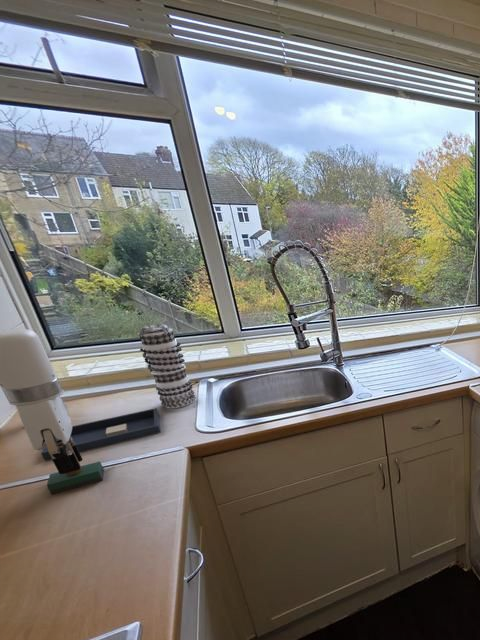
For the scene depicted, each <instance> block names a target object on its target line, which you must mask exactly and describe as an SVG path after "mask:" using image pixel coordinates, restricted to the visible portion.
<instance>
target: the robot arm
mask: <svg viewBox="0 0 480 640" xmlns="http://www.w3.org/2000/svg"><path fill="white" fill-rule="evenodd" d="M0 388H1V391H2V392H3V394H4V396H5V398H6V399H7V402H8V403H9V405H11V406H16V408H17V409H16V410H17V412H18V416H19V418H20V422H21V423H22V426H23V428H24V430H25V434H26V435H27V437H28V439H29V442H30V444H31V446H32V448H33V450H36V451H40V450H42V449H43V447H44V445H46V447H47V449H48V452H49V454H50V456H51V458H52V459H51V460H52V462H53V464H54V466H55V468H56V470H57V472H59V474H65V473H69V472H72V471H76V470H79V469H80V465H81V464H80V465H79V463H80V462H82V461H83V457H82V455H81V452H79V450H78V448H77V446H76V445H74V441H73V439H72V437H71V432H72V426H73V423H72V421H71V418H70V416H69V413H68V414H67V411H66V409H65V407H64V405H63V403H62V401H61V400H60V397H61V396H62V395H63V394H64V393H65V391H64V389H63V386H62V385H61V382H60V380H59V378H58V376H57V373H56V371H55V369H54V367H53V365H52V363H51V360H50V357H49V356H48V354H47V352H46V350H45V348H44V345H43V343H42V341H41V338H40V337H39V335H38V333H36V332H35V331H34V330H32V329H28V328H10V329H1V330H0ZM59 396H60V397H59ZM67 442H68V443H70V445H73V446H71V447H72V449H73V451H74V453H75V454H74V453H71V451H70V448H69V446H68V444H67ZM58 446H63V447H64V449H63V448H59V447H58ZM75 455H76V456H75ZM76 457H77V458H76ZM77 459H78V461H79V463H78V461H77Z"/></svg>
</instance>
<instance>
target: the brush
mask: <svg viewBox="0 0 480 640" xmlns="http://www.w3.org/2000/svg"><path fill="white" fill-rule="evenodd" d="M67 444H68V446H69V448H70V451H71V453H74V451H73V449H72V447H71V445H70V443H68V442H67ZM58 447H59V448H63V449H64V447H63V446H58ZM74 454H75V453H74ZM75 456H76V455H75ZM76 458H77V457H76ZM77 461H78V459H77ZM78 463H79V465H80V469H79V470H76V471H72V472H69V473H65V474H59V472H58V471H57V472H53V473H50V474H49V478H48V479H47V482H46V487H47V489H48V491H49V493H50V495H56V494H59V493H62V492H66V491H69V490H70V491H71V490H73V489H76V488H80V487H85V486H87V485H91V484H95V483H98V482H101V481H104V474H105V468H104V466H103V465H102V462H101V461H100V460H99V461H95V462H92V463H87V464H85V465H81V463H80V462H79V461H78Z"/></svg>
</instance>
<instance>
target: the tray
mask: <svg viewBox="0 0 480 640" xmlns="http://www.w3.org/2000/svg"><path fill="white" fill-rule="evenodd" d="M122 424H127V426H128V432H125V433H120V434H116V435H112V436H108V437H107V436H106V429H107V428H109V427H113V426H118V425H122ZM159 433H161V421H160V412H159V410H158V407H155V408H151V409H146V410H141V411H137V412H131V413H128V414H127V413H126V414H122V415H118V416H113V417H109V418H104V419H98V420H94V421H90V422H86V423H81V424H75V425H72V432H71V437H72V439H73V441H74V445H76V446H77V448H78V450H79V453H81V452H86V451H89V450H94V449H98V448H102V447H107V446H110V445H114V444H115V445H116V444H118V443H124V442H126V441H131V440H135V439H139V438H144V437H147V436H152V435H156V434H159ZM71 446H73V445H71ZM40 454H41V456H42V458H43V460H44V461H49V460H52V458H51V456H50V454H49V452H48V449H47V447H46V445H45V444H43V447H42V449H41V453H40Z"/></svg>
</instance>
